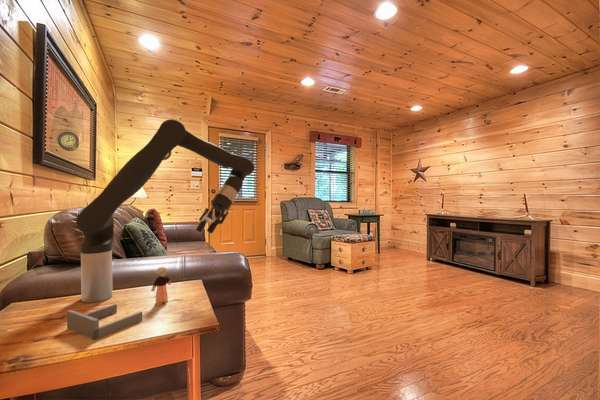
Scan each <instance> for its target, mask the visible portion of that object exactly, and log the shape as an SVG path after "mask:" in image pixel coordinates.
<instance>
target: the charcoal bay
mask: <svg viewBox="0 0 600 400" xmlns="http://www.w3.org/2000/svg"><path fill="white" fill-rule="evenodd" d="M116 313H118V305H117V304H116V303H114V304H110V305H107V306H104V307H101V308H99V309H95V310H92V311H89V312H86V313H81V312H79V311H76V310H73V309H70V310H67V311H66V324H67V325H66V328H67V330H70V331H73V332H75V333H77V334H80V335H82V336H84V337H87V338H89V339H91V340H94V341H95V340H98V339H101V338H102V337H105V336H108V335H111V334H112V333H113V334H114V333H115V332H117V331H120V330H122V329H124V328H127V327H130V326H132V325H134V324H137V323H140V322H141V321H143V311H141V310H140V311H137V312H135V313H132V314H129V315H127V316H125V317H122V318H119V319H117V320H114V321H111V322H108V323H106V324H104V325H101V326H100V324H99V323H100V321H99V319H101V318H104V317H107V316H110V315H112V314H116Z"/></svg>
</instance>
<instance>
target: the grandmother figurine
mask: <svg viewBox="0 0 600 400" xmlns="http://www.w3.org/2000/svg"><path fill="white" fill-rule="evenodd" d="M167 271H168V269H167V267H165V266H159V267H158V268H157V269H156V275H157V276H158V277H157V278H156V279H155V281H154V283H153V284H152V287H151V290H150V291H151V292H155V303H154V306H157V307H159V306H162V305H163V304H167V303H168V302H169V297H168V290H167V285H168V286H170V285H171V283H172V282H171V279H170V278H169V277H168V276H166V274H167ZM155 290H156V291H155ZM166 302H167V303H166Z"/></svg>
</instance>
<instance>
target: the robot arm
mask: <svg viewBox="0 0 600 400" xmlns="http://www.w3.org/2000/svg"><path fill="white" fill-rule="evenodd" d="M176 147H181V148H184V149H186V150H189V151H191V152H193V153H195V154H197V155H199V156H201V157H203V158H204V159H206V160H208V161H210V162H212V163H214V164H216V165H218V166H219V167H222V168H225V169H231V171H230V173H229V175H228V177H227V178H226V180H225V181H224V183H223V184H222V185H221V187H220V188H219V190H218V191H217V192H216V193H215V195H214V197H213V198H212V200H211V201H210V203H211V207H210V208H206V209H205V210H204V211H203V213H202V215H201V216H200V217H199V218H198V221H199V224H198V226H196V230H195V231H197V232H198V233H201V232H202V231H203V230H204V228H205V226H206V225H207V224H208V223H210V225H209V226H208V227H207V229H206V231H207V232H208V233H210V234H213V233H214V231H215V230H216V228H217V226H219V225H222V224H223V223H224V221H225V219H226V217H227V216H228V214H229V210H230V208H231V206H232V205H233V203H234V202H235V200H236V198H237V197H238V194H239V192H240V191H241V189H242V187H243V185H244V184H243V182H244V180H245V178H246V177H247V176H249V175H251V174H253V172H254V171H255V164H254V163H253V161H252V160H251V159H249V158H247V157H245V156H243V155H239V154H235V153H232V152H230V151H228V150H226V149H224V148H222V147H221V146H219V145H216V144H215V143H212V142H209V141H206V140H204V139H202V138H200V137H198V136H196V135H194V134H193V133H191V132H190V131H188V130H187V129H186V127H185V125H184V124H183V123H182V122H181V121H179V120H177V119H172V118H170V119H166V120H164V121H163V122H161V124H160V126H159V127H158V129H157V131H156V132H155V133H154V135H153V136H152V137H151V139H150V141H148V143H147V144H145V146H144V147H142V148H141V149H140V150H139V151H138V152H136V153H135V154H134V155H133V156H132V157H130V159H129V160H128V161H127V162H126V163H125V164H124V165H123V166H122V168H120V170H119V171H118V172H117V173H116V174H115V176H114V177H113V178H112V179H111V180H110V182H108V184H107V185H106V186H105V188H104V189H103V190H102V191H101V193H99V195H97V197H95V199H93V200H92V201H91V202H90V203H89V204H88V205H86V206H85V208H83V209H82V210H81V211H80V212H79V213H78V215H77V217H76V220H75V223H76V224H75V225H76V227H77V229H78V230H79V231H80V232H81V233H84V238H83V242H82V243H81V244H80V287H81V288H80V292H81V293H80V295H81V299H80V300H81V302H82V303H90V304H91V303H97V302H101V301H106V300H108V299H110V298H112V297H113V294H114V293H113V247H112V246H113V243H114V233H115V226H114V225H115V224H114V223H115V220H114V216H113V215H114V214H115V212H116V211H117V209H118V208H119V207H120V206H121V205H123V203H125V202H126V201H127V200H128V199H130V198H131V197H132V196H134V195H136V193H137V192H139V191H140V190H141V189H142V188H143V187H144V186H145V184H146V183H148V181H149V180H150V179H151V178H152V177H153V175H154V174H155V172H156V171H157V170H158V169H159V167H160V165H161V164H162V162H163V160H164V159H165V158H166V157H167V156H168V155H169V154H170V153H171V152H172V151H173V150H174V149H175V148H176Z"/></svg>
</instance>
